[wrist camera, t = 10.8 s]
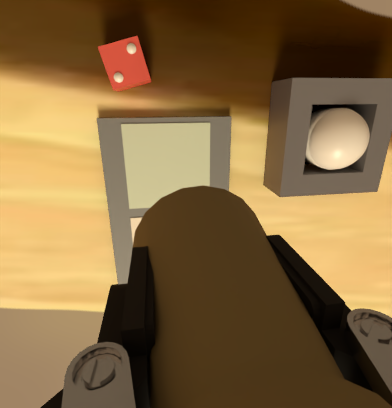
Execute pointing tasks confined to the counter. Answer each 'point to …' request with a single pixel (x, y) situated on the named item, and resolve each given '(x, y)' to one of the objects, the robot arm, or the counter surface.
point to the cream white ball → (336, 138)
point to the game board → (157, 167)
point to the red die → (125, 64)
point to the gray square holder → (299, 129)
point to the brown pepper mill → (231, 314)
